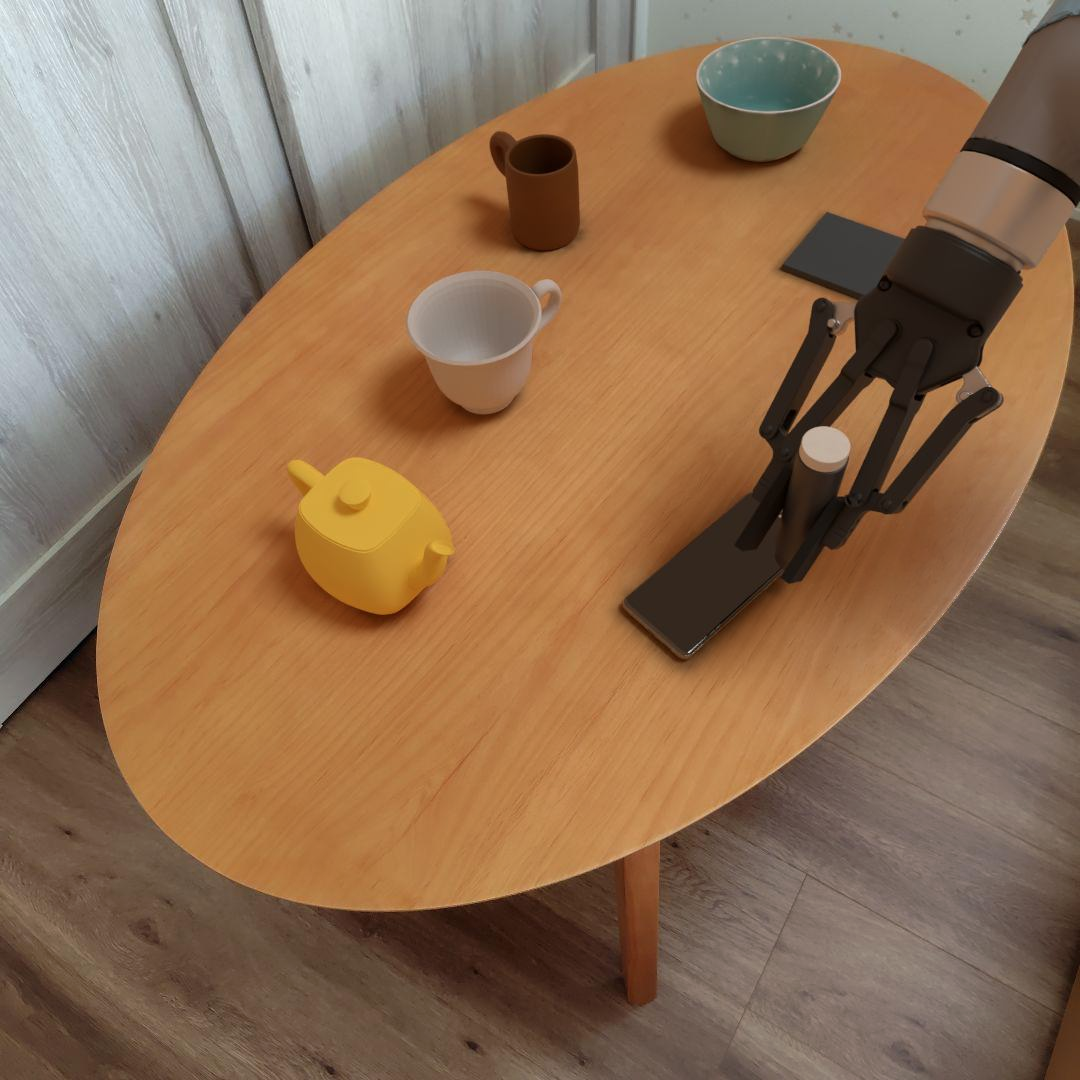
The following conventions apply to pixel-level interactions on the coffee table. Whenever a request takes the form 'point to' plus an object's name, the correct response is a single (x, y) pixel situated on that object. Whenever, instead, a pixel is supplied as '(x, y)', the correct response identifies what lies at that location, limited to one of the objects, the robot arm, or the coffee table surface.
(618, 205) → the coffee table surface
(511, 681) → the coffee table surface
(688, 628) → the smartphone
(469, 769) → the coffee table surface
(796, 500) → the dark grey capped cylinder
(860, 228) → the pad
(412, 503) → the teapot
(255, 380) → the coffee table surface
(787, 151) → the bowl
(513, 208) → the mug
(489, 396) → the teacup
